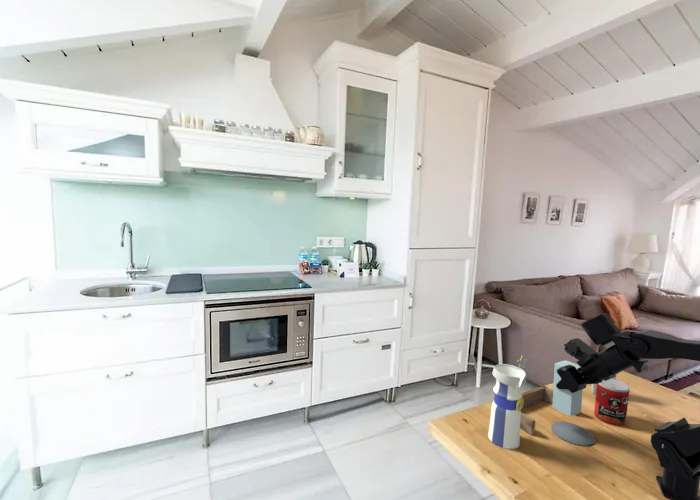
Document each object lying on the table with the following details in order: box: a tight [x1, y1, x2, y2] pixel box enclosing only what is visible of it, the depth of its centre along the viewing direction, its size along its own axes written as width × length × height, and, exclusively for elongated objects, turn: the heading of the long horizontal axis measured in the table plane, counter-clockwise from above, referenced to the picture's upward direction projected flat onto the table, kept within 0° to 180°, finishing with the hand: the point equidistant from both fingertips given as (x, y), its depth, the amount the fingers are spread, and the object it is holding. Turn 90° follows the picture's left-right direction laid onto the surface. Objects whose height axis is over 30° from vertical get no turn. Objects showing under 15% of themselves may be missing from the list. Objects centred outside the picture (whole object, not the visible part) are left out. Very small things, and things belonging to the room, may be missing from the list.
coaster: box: [550, 420, 595, 447], centre depth 95 cm, size 10×10×1 cm
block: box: [551, 359, 583, 418], centre depth 96 cm, size 5×5×13 cm
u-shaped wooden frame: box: [520, 385, 579, 436], centre depth 104 cm, size 11×22×4 cm, turn 118°
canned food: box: [593, 379, 630, 427], centre depth 102 cm, size 8×8×11 cm
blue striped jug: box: [487, 355, 528, 450], centre depth 90 cm, size 8×9×25 cm
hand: (562, 384), depth 97 cm, fingers closed on block, 5 cm apart
